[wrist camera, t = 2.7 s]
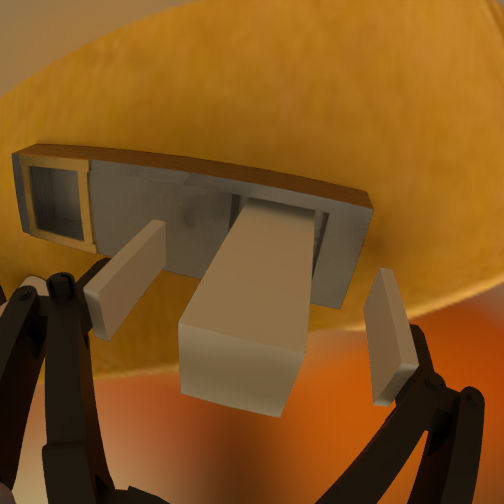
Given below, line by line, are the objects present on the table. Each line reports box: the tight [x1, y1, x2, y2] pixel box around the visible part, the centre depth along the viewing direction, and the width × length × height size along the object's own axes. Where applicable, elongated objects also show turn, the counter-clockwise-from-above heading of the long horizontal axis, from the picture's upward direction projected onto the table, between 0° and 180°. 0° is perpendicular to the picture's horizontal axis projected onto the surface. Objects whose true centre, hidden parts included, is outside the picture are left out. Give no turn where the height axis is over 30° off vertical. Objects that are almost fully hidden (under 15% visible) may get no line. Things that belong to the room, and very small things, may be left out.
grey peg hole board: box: [12, 144, 374, 309], centre depth 21 cm, size 26×7×3 cm, turn 82°
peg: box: [178, 197, 315, 417], centre depth 16 cm, size 4×4×12 cm
